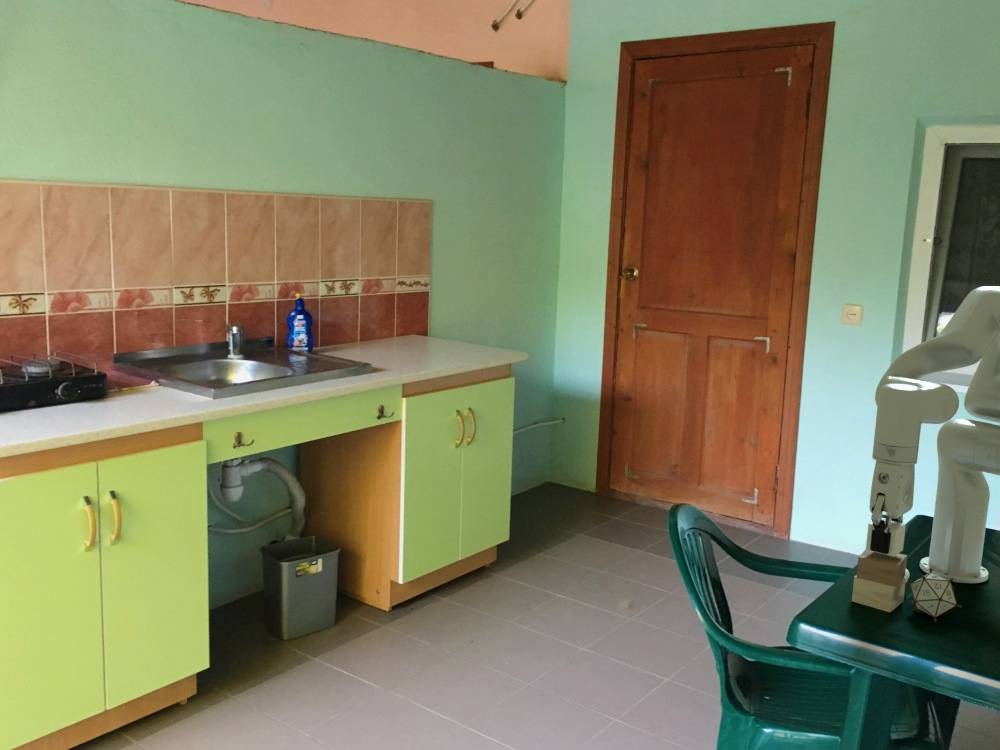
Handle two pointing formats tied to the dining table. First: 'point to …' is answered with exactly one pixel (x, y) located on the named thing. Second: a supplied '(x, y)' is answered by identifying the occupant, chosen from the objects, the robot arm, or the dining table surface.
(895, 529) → the ivory cube
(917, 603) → the game die
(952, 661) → the dining table surface
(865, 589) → the oak block
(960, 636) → the dining table surface
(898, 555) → the walnut block
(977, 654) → the dining table surface
